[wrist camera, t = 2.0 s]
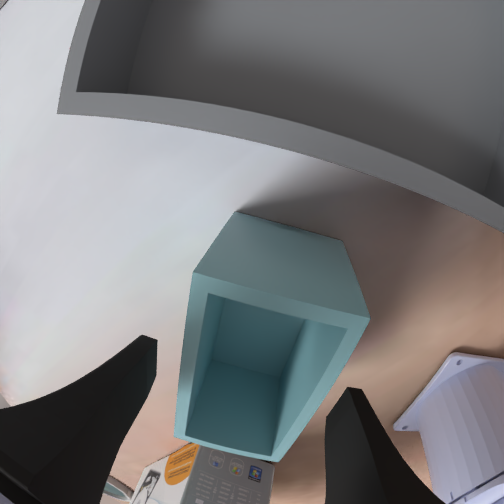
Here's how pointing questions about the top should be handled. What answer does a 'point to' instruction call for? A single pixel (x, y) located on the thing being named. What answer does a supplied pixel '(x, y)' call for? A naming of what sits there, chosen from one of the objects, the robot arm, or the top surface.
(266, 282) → the teal mini crate
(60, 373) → the top surface
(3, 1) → the padlock
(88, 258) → the top surface
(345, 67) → the grey crate
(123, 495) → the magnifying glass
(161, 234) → the top surface
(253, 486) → the hard drive box
